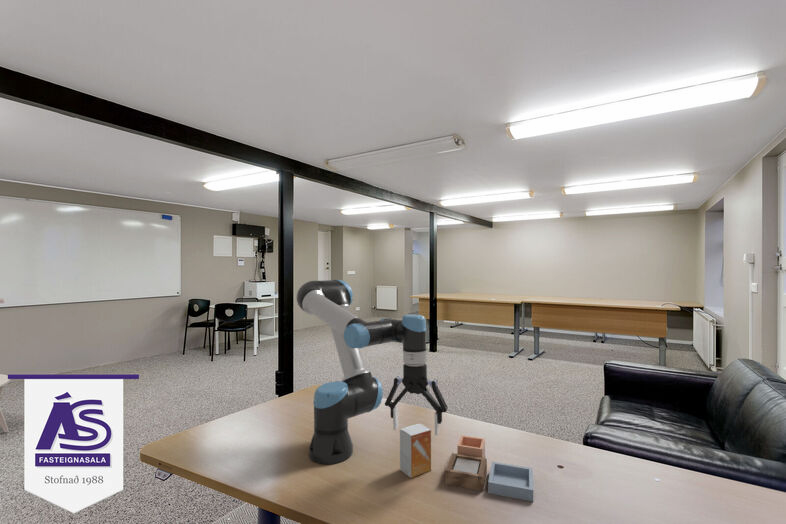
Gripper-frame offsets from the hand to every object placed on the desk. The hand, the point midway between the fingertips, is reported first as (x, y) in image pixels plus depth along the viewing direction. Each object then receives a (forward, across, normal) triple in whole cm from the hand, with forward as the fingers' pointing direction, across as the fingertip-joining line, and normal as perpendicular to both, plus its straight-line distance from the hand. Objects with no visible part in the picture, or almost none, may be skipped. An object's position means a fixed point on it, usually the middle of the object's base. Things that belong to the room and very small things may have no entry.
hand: (416, 430), depth 118 cm
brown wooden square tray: (+13, +16, +1) cm, 20 cm away
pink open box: (+13, +16, +12) cm, 23 cm away
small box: (+13, 0, 0) cm, 13 cm away
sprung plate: (+10, +16, +1) cm, 19 cm away
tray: (+13, +28, +1) cm, 31 cm away
